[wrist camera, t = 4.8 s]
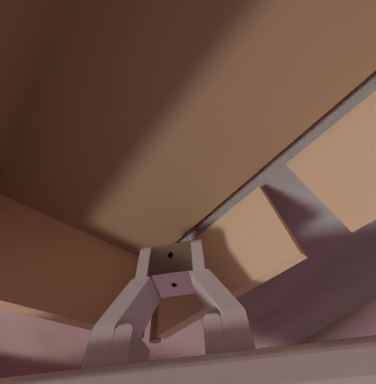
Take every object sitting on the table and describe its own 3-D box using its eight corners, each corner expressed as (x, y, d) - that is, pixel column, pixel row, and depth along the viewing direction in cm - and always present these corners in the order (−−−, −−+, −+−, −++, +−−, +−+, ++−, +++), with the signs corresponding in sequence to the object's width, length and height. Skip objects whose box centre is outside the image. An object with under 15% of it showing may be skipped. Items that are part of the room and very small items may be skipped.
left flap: (162, 274, 14) (158, 344, 11) (154, 270, 14) (147, 341, 11) (267, 192, 11) (310, 259, 7) (258, 185, 10) (299, 251, 7)
